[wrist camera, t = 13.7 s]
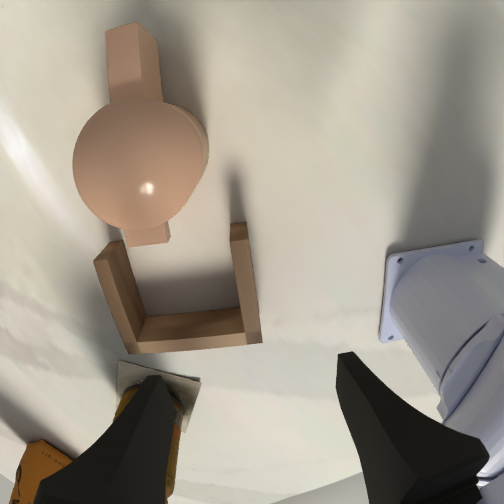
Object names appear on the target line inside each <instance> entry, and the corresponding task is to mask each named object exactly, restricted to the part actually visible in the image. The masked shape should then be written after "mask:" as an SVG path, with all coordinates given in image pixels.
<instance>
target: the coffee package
mask: <svg viewBox="0 0 504 504" xmlns="http://www.w3.org/2000/svg"><path fill="white" fill-rule="evenodd" d="M72 461H73V460H71V459H70V458H69V457H67V456H66V455H64V454H63V453H61V452H60V451H58V450H56V449H55V448H53V447H52V446H50V445H49V444H48V443H46V442H45V441H44V440H42V439H41V440H40V441H39V442H38V441H37V442H34V443H28V444H27V447H26V450H25V452H24V454H23V456H22V459H21V461H20V463H19V466H18V469H17V471H16V481H15V486H14V488H13V492H12V495H11V499H10V502H9V504H33V501H34V498H35V495H36V492H37V489H38V486H39V483H40V481H41V480H42V479H44V478H46V477H48V476H50V475H52V474H54V473H55V472H57V471H59V470H60V469H62V468H64V467H65V466H66V465H68V464H69V463H71V462H72Z"/></svg>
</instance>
